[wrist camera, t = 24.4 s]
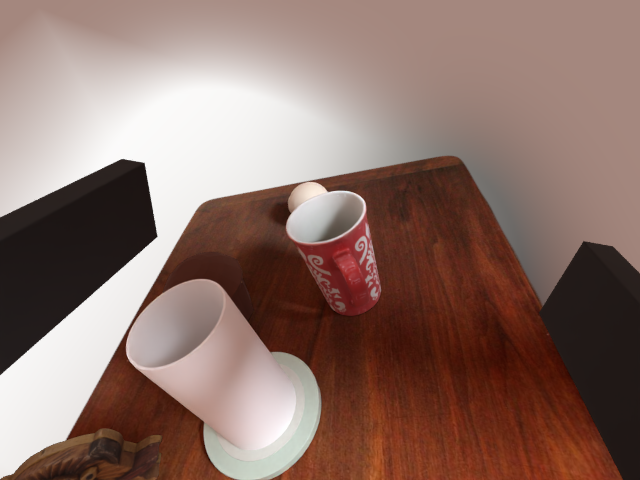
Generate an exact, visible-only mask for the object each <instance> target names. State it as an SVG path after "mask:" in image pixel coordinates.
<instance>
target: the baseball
mask: <svg viewBox="0 0 640 480" xmlns="http://www.w3.org/2000/svg"><path fill="white" fill-rule="evenodd" d="M323 193H327V191H326V189H325V188H324V187H323V186H321V185H320V184H318V183H314V182H306V183H303V184H301V185H299V186H297V187H296V188H295V189H294V190H293V192H292V193H291V196H290V197H289V200H288V206H289V211H290V213H292V212H293V211H294V210H295V209H296V208H297V207H298V206H299V205H301V204H302V203H303V202H305V201H306V200H308V199H310V198H312V197H314V196H317V195H320V194H323Z"/></svg>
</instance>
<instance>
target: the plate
mask: <svg viewBox="0 0 640 480" xmlns="http://www.w3.org/2000/svg"><path fill="white" fill-rule="evenodd" d="M270 353H271V354H272V356H273V357H274V359H275V360H276V361H277V363H278V364H279V365H280V367H281V368H282V370H283V371H284V372H285V374H286V375H287V376H288V378H289V379H290V381H291V382H292V384H293V386H294V389H295V393H296V407H295V412H294V415H293V418H292V420H291V422H290V424H289V426H288V427H287V429H286V430H285V431H284V433H283V434H282V435H281V436H280V437H279V438H278V439H277V440H276V441H274V442H273V443H272V444H270V445H268V446H266V447H264V448H261V449H258V450H243V449H240V448H238V447H236V446H234V445H233V444H232V443H231V442H229V441H228V440H227V439H225V438H224V437H223V436H222V435H220V434H219V433H218V432H217V431H215V430H214V429H213V428H211V427H210V426H209V425H208V424H206V423H205V422H204V443H205V448H206V451H207V454H208V456H209V458H210V460H211V462H212V463H213V464H214V466H215V467H216V468H217V469H218V470H219V471H220V472H221V473H223V474H225V475H226V476H228V477H229V478H231V479H233V480H269V479H272V478H274V477H276V476H278V475H280V474H282V473H283V472H285V471H286V470H288V469H289V468H290V467H291V466H292V465H293V464H295V463H296V462H297V461H298V459H299V458H300V457H301V456H302V455H303V454H304V452H305V451H306V449H307V448H308V446H309V445H310V443H311V441H312V439H313V437H314V435H315V433H316V430H317V427H318V424H319V420H320V415H321V393H320V388H319V385H318V382H317V380H316V378H315V376H314V374H313V373H312V371H311V370H310V368H309V367H308V366H307V365H306V364H305V363H304V362H303V361H302V360H300V359H299V358H297V357H295V356H293V355H291V354H288V353H283V352H270Z"/></svg>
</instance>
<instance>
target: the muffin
mask: <svg viewBox="0 0 640 480" xmlns="http://www.w3.org/2000/svg"><path fill="white" fill-rule="evenodd" d="M242 276H243V274H242V268H241V266H240V264H239V262H238V260H237V259H235V258H232V257H230V256H227V255H224V254H221V253H219V252H204V253H199V254H196V255H194V256H192V257H189V258H187V259H186V260H184V261H183V262H182V263H180V264H179V265H178V266H177V267H176V268H175V270H174V271H173V272H172V273H171V274H170V276H169V277H168V279H167V282H166V284H165V287H164V289H163V293H164V292H166V291H167V290H169V289H170V288H172V287H174V286H176V285H179V284H181V283H184V282H187V281H190V280H196V279H208V280H212V281H214V282H216V283H218V284H219V285H220V286H221V287H222V288H223V289H224V290H225V292H226V293H227V294H228V296H229V297H230V298H231V300H232V301H233V302H234V304H235V305H236V307H237V308H238V309H239V311H240V312H241V313H242V315H243V316H244V318H245V319H246V320H247V322H248V321H249V318H250V316H251V314H252V313H253V311H254V309H253V306H252V304H251V298H250V295H249V292H248V290H247V287H246V285H245V283H244V280H243V278H242Z"/></svg>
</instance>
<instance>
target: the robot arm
mask: <svg viewBox="0 0 640 480" xmlns="http://www.w3.org/2000/svg"><path fill="white" fill-rule="evenodd" d="M156 237H157V233H156V226H155V220H154V214H153V209H152V203H151V197H150V192H149V186H148V180H147V175H146V169H145V163H142V162H136V161H131V160H125V159H121V160H119V161H117V162H115V163H113V164H111V165H108V166H106V167H104V168H102V169H100V170H98V171H97V172H94V173H92V174H90V175H88V176H86V177H84V178H81V179H79V180H77V181H75V182H73V183H71V184H69V185H67V186H65V187H63V188H61V189H59V190H57V191H54V192H52V193H50V194H48V195H46V196H44V197H42V198H40V199H38V200H36V201H34V202H32V203H30V204H27V205H25V206H23V207H21V208H19V209H17V210H15V211H13V212H11V213H9V214H7V215H4V216H2V217H0V375H1V374H2V373H3V372H4V371H5V370H6V369H8V368H9V367H10V366H11V365H12V364H13V363H14V362H16V361H17V360H18V359H19V358H20V357H21V356H22V355H24V354H25V353H26V352H27V351H28V350H29V349H30V348H31V347H32V346H34V345H35V344H36V343H37V342H38V341H39V340H41V339H42V338H43V337H44V336H45V335H46V334H47V333H48V332H50V331H51V330H52V329H53V328H54V327H55V326H56V325H58V324H59V323H60V322H61V321H62V320H63V319H64V318H66V316H68V315H69V314H70V313H71V312H72V311H74V310H75V309H76V308H77V307H78V306H79V305H80V304H82V303H83V302H84V301H85V300H86V299H87V298H88V297H89V296H91V295H92V294H93V293H94V292H95V291H96V290H97V289H99V288H100V287H101V286H102V285H103V284H104V283H105V282H106V281H108V280H109V279H110V278H111V277H112V276H113V275H114V274H116V273H117V272H118V271H119V270H120V269H121V268H122V267H124V266H125V265H126V264H127V263H128V262H129V261H130V260H132V259H133V258H134V257H135V256H136V255H137V254H138V253H140V252H141V251H142V250H143V249H144V248H145V247H146V246H147V245H149V244H150V243H151V242H152V241H153V240H154V239H155V238H156ZM539 314H540V316H541V318H542V320H543V322H544V324H545V326H546V328H547V330H548V332H549V334H550V336H551V338H552V340H553V342H554V344H555V346H556V348H557V350H558V352H559V354H560V356H561V358H562V360H563V362H564V364H565V366H566V368H567V370H568V371H569V373H570V375H571V377H572V379H573V381H574V383H575V385H576V387H577V389H578V391H579V393H580V395H581V397H582V399H583V401H584V403H585V405H586V407H587V409H588V411H589V413H590V415H591V417H592V419H593V421H594V423H595V425H596V427H597V429H598V431H599V433H600V435H601V437H602V439H603V441H604V443H605V445H606V447H607V449H608V451H609V453H610V455H611V457H612V459H613V461H614V463H615V465H616V466H617V468H618V470H619V472H620V474H621V476H622V478H623V480H640V273H639V272H638V271H637V270H636V269H635V268H634V267H633V266H631V264H630V263H629V262H628V261H627V260H626V259H625V258H624V257H623V256H622V255H621V254H620V253H619V252H618V251H617V250H616V249H615V248H614V247H613V246H607V245H601V244H596V243H590V242H583V243H582V245H581V247H580V248H579V249H578V251H577V253H576V254H575V256H574V258H573V259H572V261H571V262H570V264H569V266H568V267H567V269H566V270H565V272H564V274H563V275H562V277H561V279H560V280H559V282H558V283H557V285H556V286H555V288H554V290H553V291H552V293H551V295H550V296H549V298H548V299H547V301H546V303H545V304H544V306H543V307H542V309H541V311H540V312H539Z"/></svg>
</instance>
